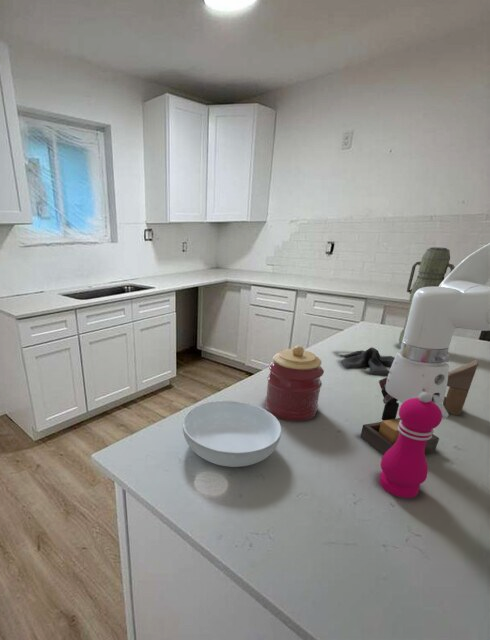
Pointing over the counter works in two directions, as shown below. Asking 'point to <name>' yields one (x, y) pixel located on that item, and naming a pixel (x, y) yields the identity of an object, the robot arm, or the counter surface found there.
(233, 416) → the serving bowl
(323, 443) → the counter surface
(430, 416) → the pepper mill
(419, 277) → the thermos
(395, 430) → the tan rectangular block
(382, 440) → the socket
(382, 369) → the cloth
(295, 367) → the kitchen canister
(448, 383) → the wooden block structure
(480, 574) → the counter surface
